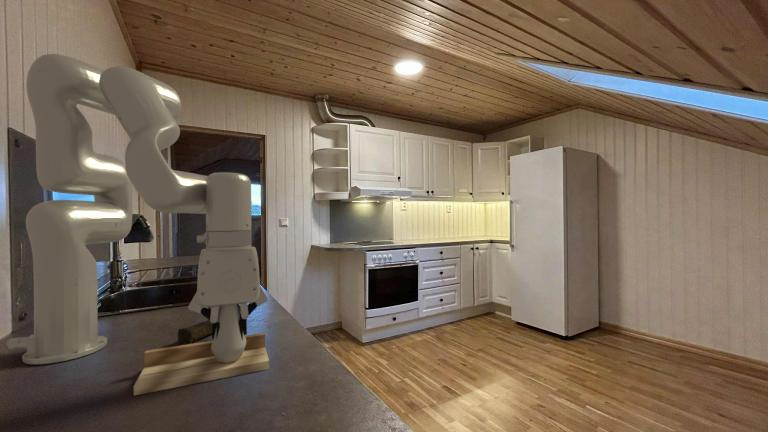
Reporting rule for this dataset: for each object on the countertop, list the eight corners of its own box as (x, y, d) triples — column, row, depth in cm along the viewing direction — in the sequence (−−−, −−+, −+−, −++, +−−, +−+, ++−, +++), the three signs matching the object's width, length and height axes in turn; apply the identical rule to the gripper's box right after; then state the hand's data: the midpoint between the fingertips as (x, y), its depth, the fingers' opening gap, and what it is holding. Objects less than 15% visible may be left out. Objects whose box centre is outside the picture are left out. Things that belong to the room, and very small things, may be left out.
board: (133, 395, 51) (133, 369, 51) (148, 369, 60) (148, 347, 60) (269, 368, 59) (268, 346, 59) (263, 349, 68) (263, 330, 68)
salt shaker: (210, 367, 56) (210, 291, 56) (211, 355, 61) (211, 285, 61) (247, 360, 58) (247, 288, 59) (245, 349, 64) (245, 282, 64)
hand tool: (189, 348, 70) (189, 326, 70) (176, 345, 72) (176, 324, 72) (254, 321, 88) (254, 304, 88) (242, 320, 89) (242, 303, 89)
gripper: (173, 243, 53) (174, 357, 53) (278, 240, 60) (278, 340, 60) (180, 241, 60) (180, 341, 60) (273, 238, 67) (274, 328, 67)
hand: (229, 339), depth 60 cm, fingers closed on salt shaker, 3 cm apart
